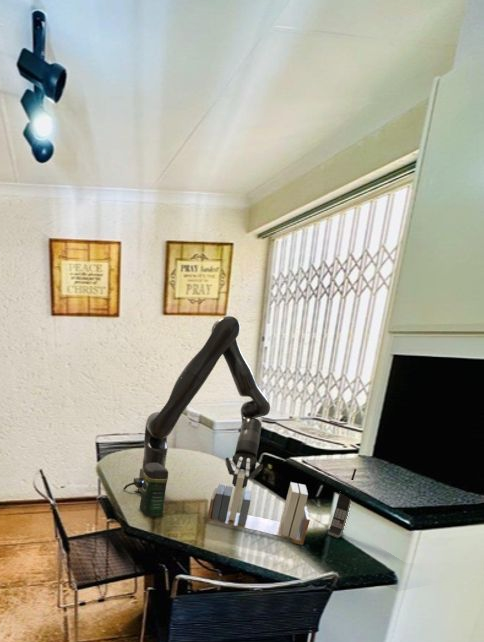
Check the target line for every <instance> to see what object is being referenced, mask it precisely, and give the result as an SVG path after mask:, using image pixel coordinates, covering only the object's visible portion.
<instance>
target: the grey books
mask: <svg viewBox="0 0 484 642" xmlns="http://www.w3.org/2000/svg"><path fill="white" fill-rule="evenodd" d="M216 488H217V491H216V495H215V500H214V506H213V511H212V516H211V519H214V520H218V518H219V521H223V522H225V521H226V517H227V513H228V511H229V507H230V502H231V497H232V492H233V488H234V486H230V485H226V484H225V485H224V484H220V483H219V484H218V486H217V487H216ZM252 493H253V492H252V490H250V489H244V491H243V496H242V502H241V506H240V511H239V513H240V516H239V522H238V525H240V526H245V524H246V520H247V515H249V510H250V506H251V501H252ZM219 514H220V515H219Z"/></svg>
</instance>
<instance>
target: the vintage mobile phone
mask: <svg viewBox="0 0 484 642" xmlns="http://www.w3.org/2000/svg"><path fill="white" fill-rule="evenodd" d="M352 472H353V473H352V476H351V478H350V481H351V480H353V481H354V479H355V476H356V473H357V468H354V469H353V471H352ZM350 504H351V499H350V498H348V497H347V496H345V495H344V494H341V493H340V492H339V494H338V497H337V502H336V506H335V509H334V513H333V516H332V519H331V523H330V527H329V528H328V530H327V535H329V536H331V537H334V538H335V539H339V538H340V537H341V536H342V535H343V534H344V532H343V530H344V531H345V529H344V526H345V523H346V519H347V516H348V512H349V508H350ZM348 517H349V516H348ZM347 520H348V519H347ZM346 524H347V523H346ZM345 527H346V526H345Z"/></svg>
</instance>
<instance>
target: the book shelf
mask: <svg viewBox="0 0 484 642" xmlns="http://www.w3.org/2000/svg"><path fill="white" fill-rule="evenodd" d="M217 488H218V487H214V490H213V492H212V495H211V498H210V502H209V508H208V513H207V519H206V520H208V521H213V522H216V523H217V522H218V523H221V524H226V525H230V526H234V527H238V528H244V529H248V530H251V531H257V532H262V533H265V534H270V535H274V536H278V537H282V538H287V539H292V544H296V545H300V546H304V543H305V540H306V535H307V532H308V528H309V525H310V522H311V518H310V514H309V510H308V507H307V505H305V508H304V512H303V516H302V519H301V523H300V527H299V531H298V534H297V538H293V537H289V535H288V536H284V535H281V524H280V522H281V521H278V520H273V519H269V518H264V517H259V516H255V515H250V514H248V515H247V520H246V524H245V526H240V525H238V522H239V516H240V512H237V514H236V518H235V521H234V520H230V519H229V515H230V510H228V513H227V517H226V521H225V522H223V521H219V518H218V520H214V519H211V516H212V511H213V506H214V500H215V495H216V491H217ZM219 515H220V514H219Z"/></svg>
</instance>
